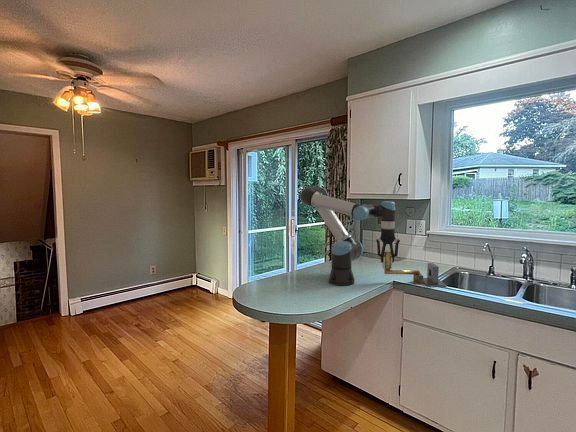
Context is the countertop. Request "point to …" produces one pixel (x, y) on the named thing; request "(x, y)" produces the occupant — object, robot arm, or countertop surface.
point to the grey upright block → (433, 276)
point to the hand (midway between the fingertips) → (387, 267)
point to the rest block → (418, 279)
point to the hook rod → (388, 271)
